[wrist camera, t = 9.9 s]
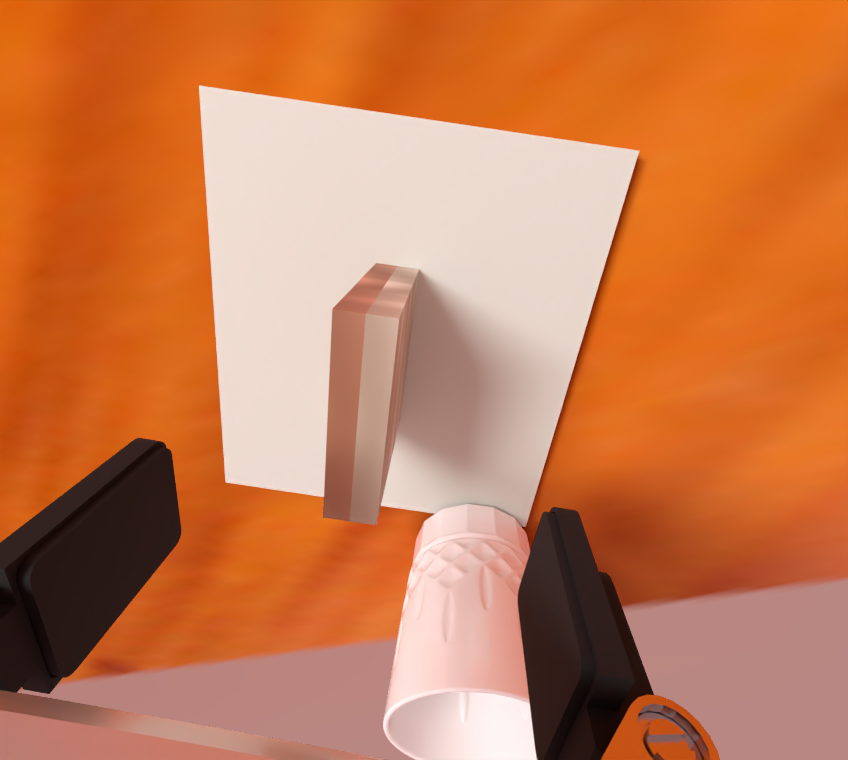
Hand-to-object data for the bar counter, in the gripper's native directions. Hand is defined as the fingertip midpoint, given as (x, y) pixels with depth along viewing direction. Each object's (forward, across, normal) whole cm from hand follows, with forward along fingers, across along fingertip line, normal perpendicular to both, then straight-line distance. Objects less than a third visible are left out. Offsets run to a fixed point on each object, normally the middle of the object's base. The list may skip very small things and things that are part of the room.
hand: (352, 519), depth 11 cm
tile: (+12, +1, 0) cm, 12 cm away
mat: (+13, +1, 0) cm, 13 cm away
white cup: (+13, -5, +12) cm, 18 cm away
